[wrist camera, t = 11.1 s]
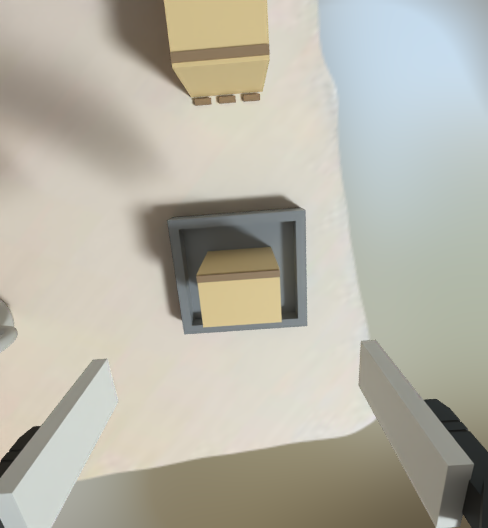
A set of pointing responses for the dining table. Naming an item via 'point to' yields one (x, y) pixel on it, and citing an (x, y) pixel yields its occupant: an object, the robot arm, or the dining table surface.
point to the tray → (241, 237)
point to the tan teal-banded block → (219, 47)
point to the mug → (6, 327)
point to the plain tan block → (239, 287)
